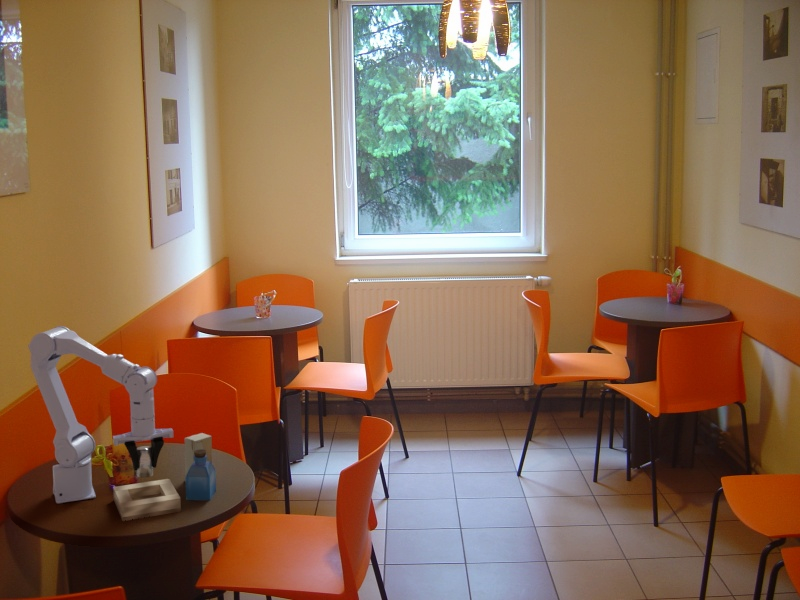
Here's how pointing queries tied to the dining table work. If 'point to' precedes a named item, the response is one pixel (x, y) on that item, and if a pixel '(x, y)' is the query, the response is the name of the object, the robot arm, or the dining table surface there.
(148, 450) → the metal pin
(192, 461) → the skincare box
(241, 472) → the dining table surface
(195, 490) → the perfume bottle
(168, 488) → the socket block
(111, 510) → the dining table surface
